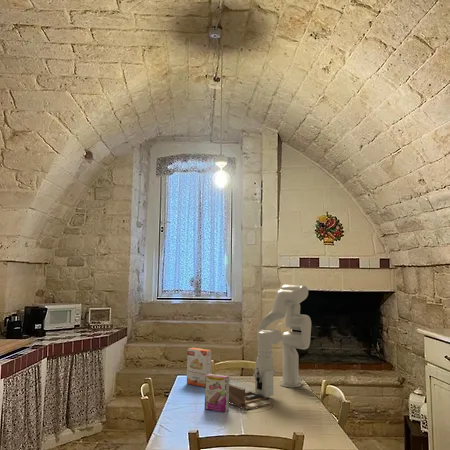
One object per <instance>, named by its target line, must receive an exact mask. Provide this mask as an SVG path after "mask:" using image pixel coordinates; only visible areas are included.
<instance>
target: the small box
mask: <svg viewBox="0 0 450 450" xmlns="http://www.w3.org/2000/svg"><path fill="white" fill-rule="evenodd" d="M257 376H258V375H257ZM259 376H260V375H259ZM259 379H260V377H259ZM254 380H255V387H254V388H255V389H254V390H255V391H254V392H257V393H260V394H263V395H264V397H267V398H269V397H273V396H274V376H273V371H266V372H263V377H262V380H261V382H262V390H259V389H257V381H256V379H255V378H254Z"/></svg>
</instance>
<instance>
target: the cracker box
mask: <svg viewBox="0 0 450 450" xmlns="http://www.w3.org/2000/svg"><path fill="white" fill-rule="evenodd" d="M186 359H187V360H186V385H192V386H197V387H202V388H205V379H206V375H208V374H212V349H206V348H201V347H188V348H187V357H186Z"/></svg>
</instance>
